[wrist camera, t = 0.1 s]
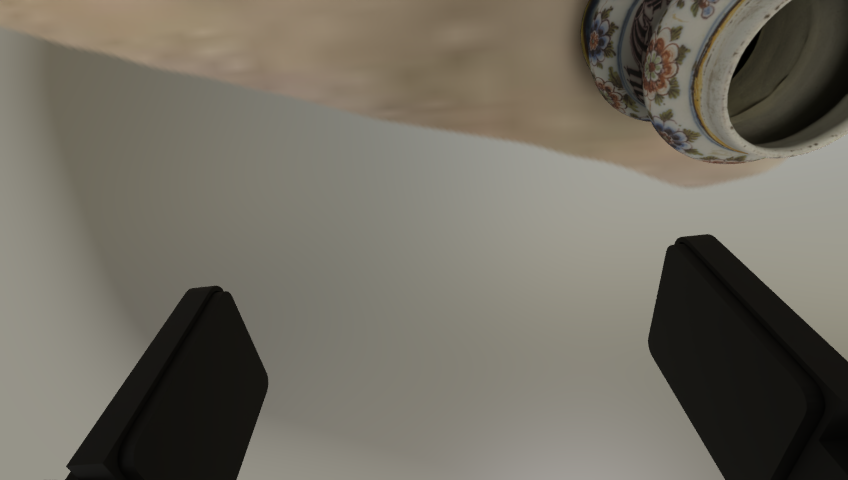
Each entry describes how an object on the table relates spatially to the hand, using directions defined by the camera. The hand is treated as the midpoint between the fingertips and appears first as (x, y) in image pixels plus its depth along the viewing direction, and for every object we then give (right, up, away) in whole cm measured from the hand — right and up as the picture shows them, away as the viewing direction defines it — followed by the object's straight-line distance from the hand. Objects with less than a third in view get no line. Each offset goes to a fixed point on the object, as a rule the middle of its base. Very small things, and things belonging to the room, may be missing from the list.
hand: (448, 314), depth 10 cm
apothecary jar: (+17, +19, +25) cm, 36 cm away
